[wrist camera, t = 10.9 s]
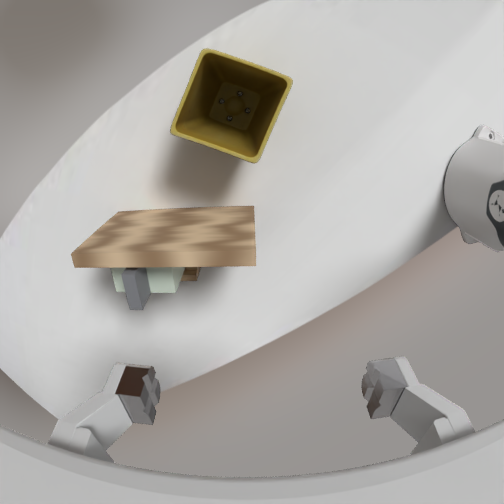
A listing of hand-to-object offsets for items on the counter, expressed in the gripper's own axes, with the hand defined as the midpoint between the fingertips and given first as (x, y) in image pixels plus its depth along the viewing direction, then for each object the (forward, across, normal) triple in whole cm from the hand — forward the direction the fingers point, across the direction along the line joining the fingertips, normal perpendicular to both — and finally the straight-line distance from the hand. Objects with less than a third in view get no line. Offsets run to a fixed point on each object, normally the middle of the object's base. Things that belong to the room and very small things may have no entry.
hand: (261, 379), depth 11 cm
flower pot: (+29, +2, -10) cm, 31 cm away
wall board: (+29, +9, +6) cm, 31 cm away
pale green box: (+25, +12, +6) cm, 28 cm away
